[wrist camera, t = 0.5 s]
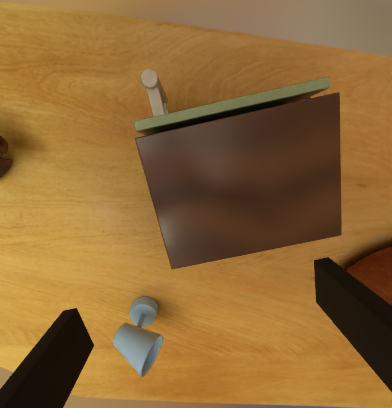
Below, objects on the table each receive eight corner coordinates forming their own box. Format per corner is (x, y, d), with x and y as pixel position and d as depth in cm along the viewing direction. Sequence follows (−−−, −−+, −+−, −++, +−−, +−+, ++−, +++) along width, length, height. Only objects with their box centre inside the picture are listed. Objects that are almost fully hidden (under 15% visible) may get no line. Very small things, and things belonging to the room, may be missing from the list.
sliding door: (147, 102, 24) (118, 68, 14) (272, 73, 24) (328, 18, 14) (157, 140, 25) (135, 131, 16) (276, 113, 25) (330, 87, 15)
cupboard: (156, 132, 26) (127, 114, 14) (309, 97, 25) (409, 50, 14) (179, 224, 29) (171, 269, 18) (314, 195, 29) (397, 224, 17)
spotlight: (169, 298, 33) (129, 293, 32) (160, 359, 23) (103, 352, 23) (165, 321, 34) (126, 316, 34) (154, 388, 24) (100, 382, 24)
